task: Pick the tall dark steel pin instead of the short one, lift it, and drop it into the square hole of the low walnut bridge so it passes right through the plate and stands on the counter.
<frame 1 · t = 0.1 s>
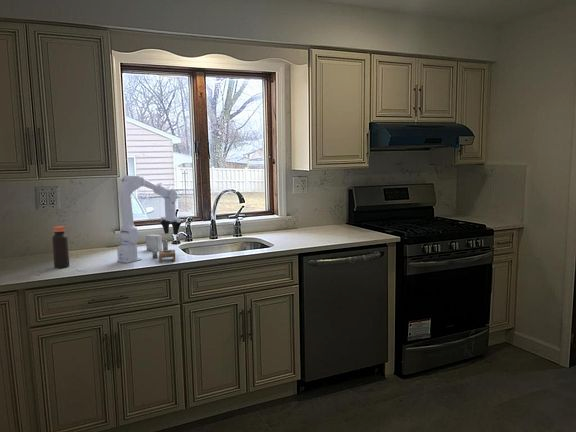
hand: (171, 234, 266), 10 cm above the countertop, tool pointing down, fingers open, 7 cm apart
medicine box: (154, 250, 272), on the countertop
hole bridge: (167, 260, 245), on the countertop
bottle: (62, 267, 232), on the countertop
short pin: (155, 258, 250), on the countertop
tall pin: (165, 255, 257), on the countertop
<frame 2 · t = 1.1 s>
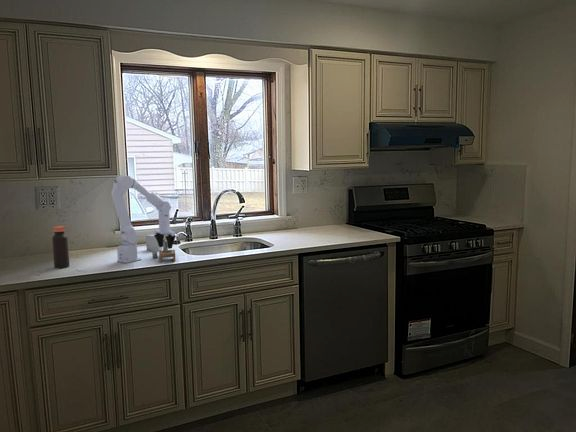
hand: (165, 247, 257), 4 cm above the countertop, tool pointing down, fingers open, 7 cm apart
nothing on the countertop moved.
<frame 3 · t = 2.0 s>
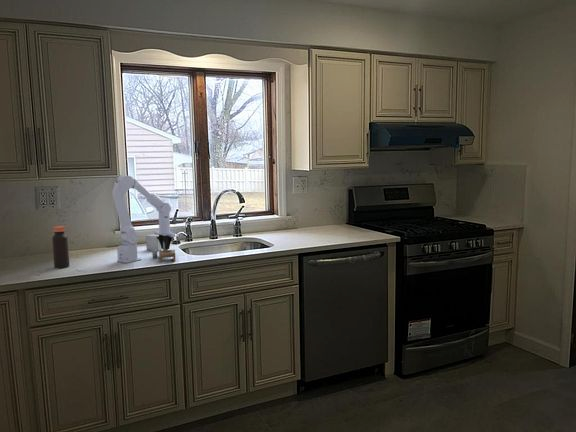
hand: (165, 249, 257), 3 cm above the countertop, tool pointing down, fingers closed on tall pin, 3 cm apart
tall pin: (165, 255, 257), on the countertop, touching gripper
everything else where it was.
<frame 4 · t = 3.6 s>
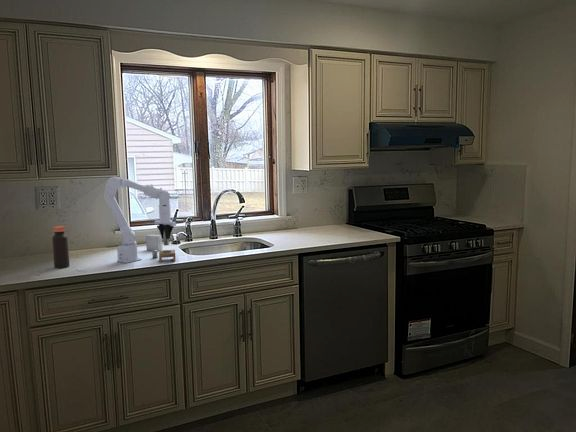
hand: (165, 238, 249), 10 cm above the countertop, tool pointing down, fingers closed on tall pin, 3 cm apart
tall pin: (166, 244, 250), point 7 cm above the countertop, touching gripper
everything else where it was.
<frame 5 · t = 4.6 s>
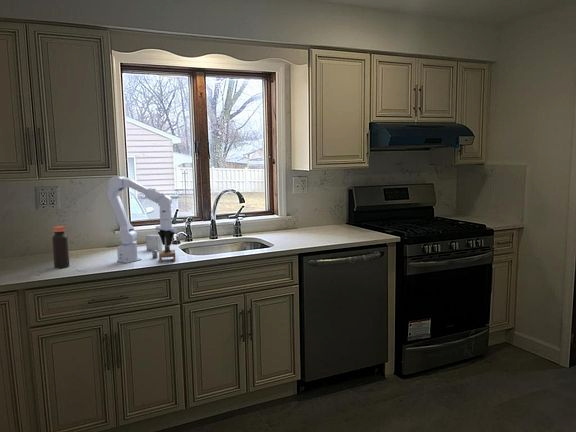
hand: (166, 244, 244), 8 cm above the countertop, tool pointing down, fingers closed on tall pin, 3 cm apart
tall pin: (167, 251, 244), point 5 cm above the countertop, touching gripper
everything else where it was.
when the fingers open (5 cm above the countertop, at t = 5.4 s): tall pin drops 2 cm, on the countertop.
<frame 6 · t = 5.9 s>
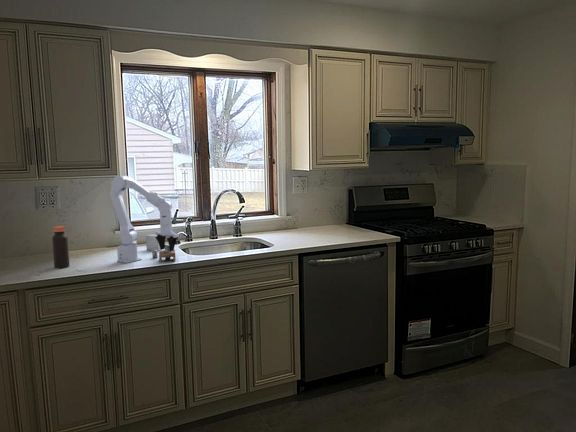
hand: (167, 250, 244), 5 cm above the countertop, tool pointing down, fingers open, 7 cm apart
tall pin: (167, 260, 245), on the countertop
everything else where it was.
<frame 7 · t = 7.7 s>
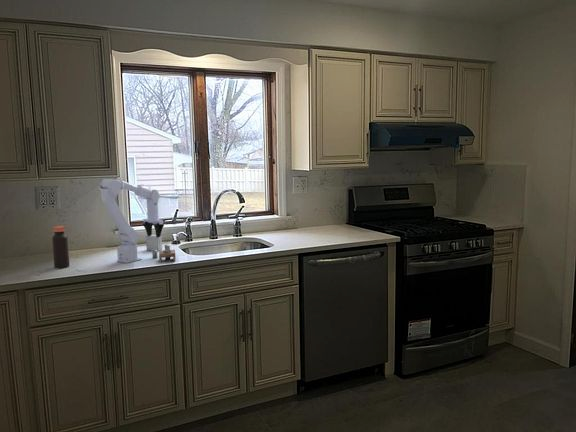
hand: (153, 236, 256), 10 cm above the countertop, tool pointing down, fingers open, 7 cm apart
nothing on the countertop moved.
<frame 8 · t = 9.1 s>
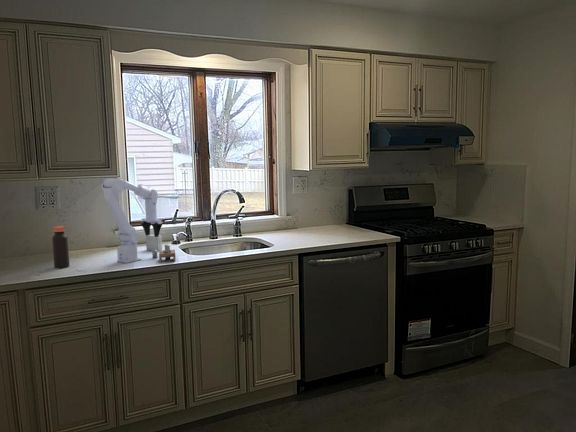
hand: (152, 235, 258), 10 cm above the countertop, tool pointing down, fingers open, 7 cm apart
nothing on the countertop moved.
at the end: tall pin 0.2 cm off-centre on the hole bridge, point 0.0 cm above the hole bridge's base; tall pin tilted 0°; short pin moved 0.0 cm from its start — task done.
